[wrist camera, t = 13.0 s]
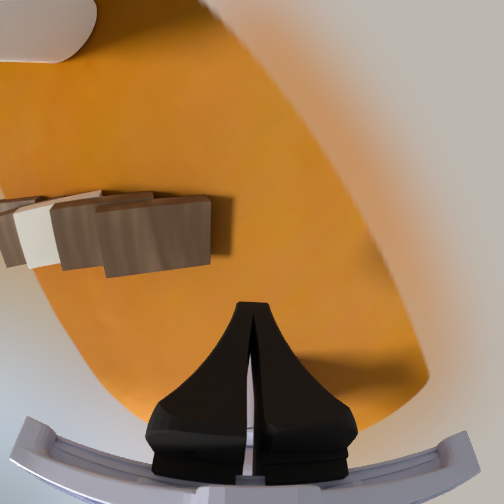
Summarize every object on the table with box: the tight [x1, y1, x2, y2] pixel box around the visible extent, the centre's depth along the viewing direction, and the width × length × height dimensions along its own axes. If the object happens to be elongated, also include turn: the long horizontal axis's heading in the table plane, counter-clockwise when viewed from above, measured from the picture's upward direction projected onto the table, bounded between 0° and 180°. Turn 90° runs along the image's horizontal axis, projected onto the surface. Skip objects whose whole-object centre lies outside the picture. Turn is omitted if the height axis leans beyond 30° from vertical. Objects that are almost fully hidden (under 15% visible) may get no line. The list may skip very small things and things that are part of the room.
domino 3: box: [13, 190, 102, 269], centre depth 19 cm, size 2×5×8 cm
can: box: [0, 0, 97, 63], centre depth 8 cm, size 6×6×12 cm
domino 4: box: [49, 191, 154, 271], centre depth 19 cm, size 2×5×8 cm
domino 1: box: [0, 196, 42, 213], centre depth 21 cm, size 2×5×8 cm
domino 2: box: [0, 195, 65, 268], centre depth 20 cm, size 2×5×8 cm
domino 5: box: [95, 195, 211, 278], centre depth 20 cm, size 2×5×8 cm
